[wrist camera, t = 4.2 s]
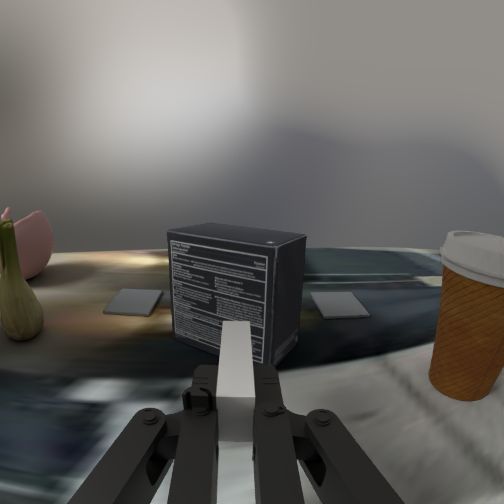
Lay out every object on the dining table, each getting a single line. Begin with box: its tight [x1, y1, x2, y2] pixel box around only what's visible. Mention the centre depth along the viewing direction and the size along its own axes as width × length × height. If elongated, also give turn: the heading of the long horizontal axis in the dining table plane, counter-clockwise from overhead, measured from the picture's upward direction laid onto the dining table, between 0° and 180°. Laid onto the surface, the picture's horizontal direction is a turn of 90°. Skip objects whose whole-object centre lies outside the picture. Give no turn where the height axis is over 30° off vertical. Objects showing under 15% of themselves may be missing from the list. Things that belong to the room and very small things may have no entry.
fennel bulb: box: [0, 219, 44, 341], centre depth 25 cm, size 6×5×12 cm
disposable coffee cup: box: [429, 231, 504, 401], centre depth 20 cm, size 10×10×12 cm
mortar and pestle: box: [0, 207, 53, 280], centre depth 40 cm, size 12×12×12 cm
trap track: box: [103, 289, 370, 319], centre depth 45 cm, size 30×24×3 cm
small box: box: [167, 223, 307, 368], centre depth 28 cm, size 11×6×10 cm, turn 60°
